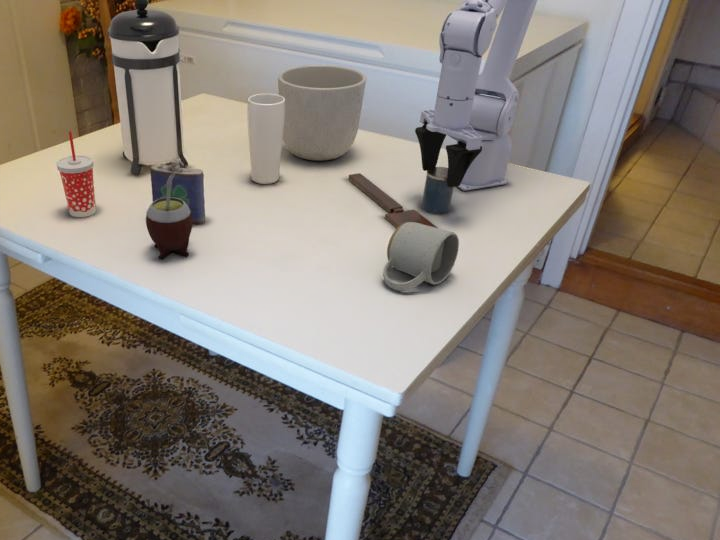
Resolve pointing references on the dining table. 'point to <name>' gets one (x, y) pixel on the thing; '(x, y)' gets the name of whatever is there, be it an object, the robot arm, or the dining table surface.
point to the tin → (437, 191)
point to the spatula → (388, 203)
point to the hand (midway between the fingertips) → (440, 177)
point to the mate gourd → (169, 224)
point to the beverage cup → (78, 182)
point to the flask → (180, 187)
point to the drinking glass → (265, 136)
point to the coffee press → (148, 86)
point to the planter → (321, 109)
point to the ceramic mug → (420, 254)
